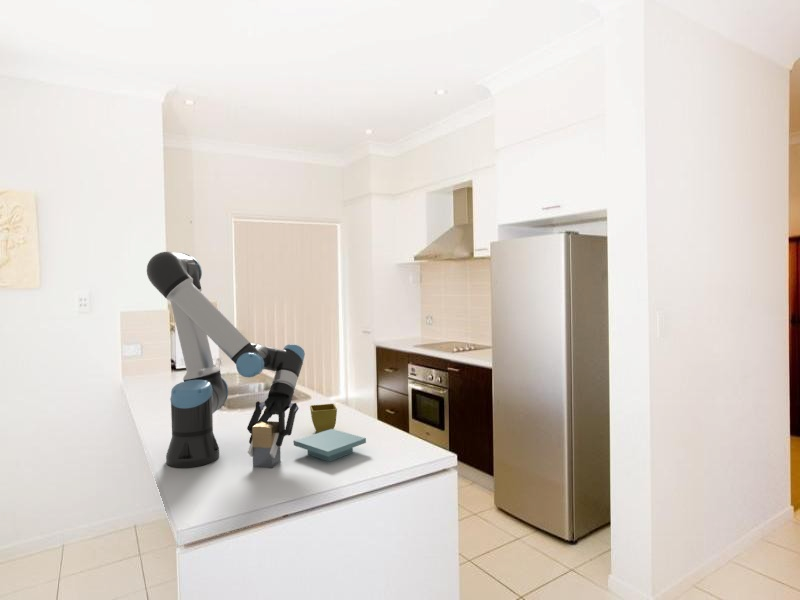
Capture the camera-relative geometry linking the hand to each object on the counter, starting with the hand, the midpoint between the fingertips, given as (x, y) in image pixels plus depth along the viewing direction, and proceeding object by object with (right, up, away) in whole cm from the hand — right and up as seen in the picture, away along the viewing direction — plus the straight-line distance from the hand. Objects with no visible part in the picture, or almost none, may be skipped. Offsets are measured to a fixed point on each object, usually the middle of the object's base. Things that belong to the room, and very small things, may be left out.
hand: (261, 455), depth 147 cm
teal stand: (+18, -3, +12) cm, 22 cm away
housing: (+1, -4, +4) cm, 5 cm away
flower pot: (+13, -3, +35) cm, 38 cm away
